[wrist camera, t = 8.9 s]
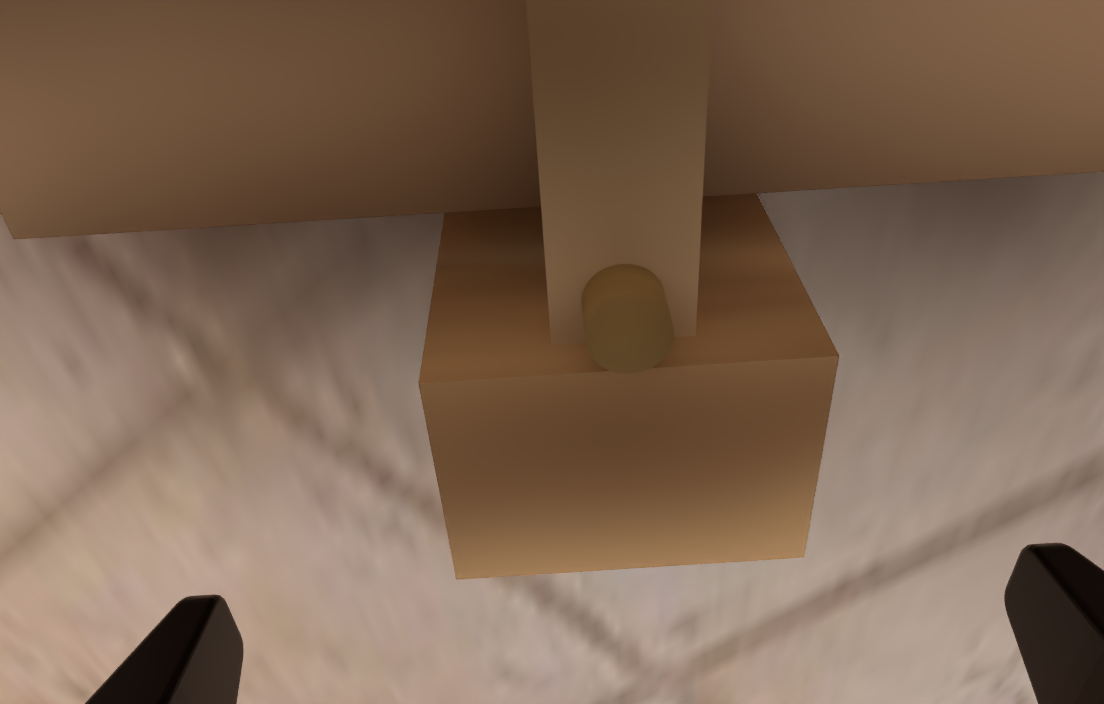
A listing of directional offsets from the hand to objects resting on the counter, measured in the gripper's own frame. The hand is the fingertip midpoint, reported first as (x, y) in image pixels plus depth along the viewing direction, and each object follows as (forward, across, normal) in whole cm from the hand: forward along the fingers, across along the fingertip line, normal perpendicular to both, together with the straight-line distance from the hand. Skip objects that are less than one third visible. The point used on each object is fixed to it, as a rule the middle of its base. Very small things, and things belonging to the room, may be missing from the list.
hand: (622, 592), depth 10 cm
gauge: (+7, 0, -3) cm, 8 cm away
